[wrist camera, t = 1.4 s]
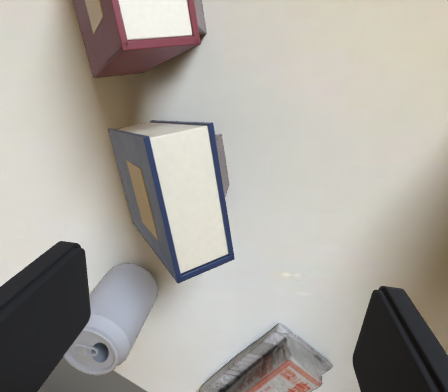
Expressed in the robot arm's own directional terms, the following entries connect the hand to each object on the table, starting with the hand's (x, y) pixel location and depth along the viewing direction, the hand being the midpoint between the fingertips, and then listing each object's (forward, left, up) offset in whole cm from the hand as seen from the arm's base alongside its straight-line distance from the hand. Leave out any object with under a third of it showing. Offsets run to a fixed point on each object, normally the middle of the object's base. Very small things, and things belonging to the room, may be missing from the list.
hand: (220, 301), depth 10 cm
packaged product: (+22, +26, -26) cm, 43 cm away
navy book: (+6, -3, -20) cm, 20 cm away
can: (+25, +3, -26) cm, 36 cm away
